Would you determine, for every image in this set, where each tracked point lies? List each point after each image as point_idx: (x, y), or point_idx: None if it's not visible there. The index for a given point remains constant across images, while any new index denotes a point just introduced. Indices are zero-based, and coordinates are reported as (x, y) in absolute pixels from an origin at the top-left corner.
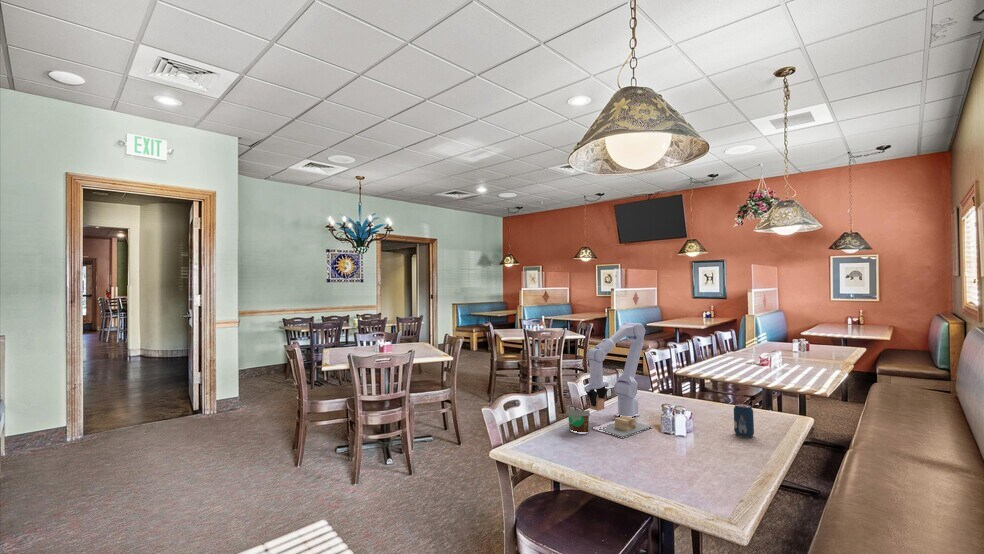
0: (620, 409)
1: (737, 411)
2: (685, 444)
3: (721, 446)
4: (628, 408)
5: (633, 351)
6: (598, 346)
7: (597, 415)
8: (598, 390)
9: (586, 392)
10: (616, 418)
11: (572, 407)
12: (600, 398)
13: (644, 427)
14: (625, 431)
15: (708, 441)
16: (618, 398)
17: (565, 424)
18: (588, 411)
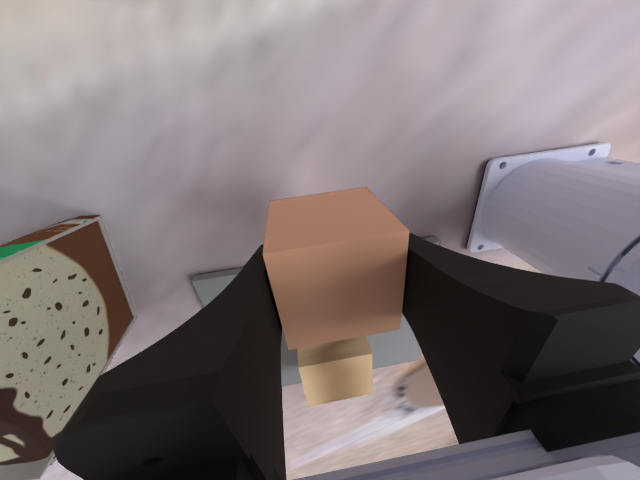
0: (517, 222)
1: None
2: (359, 438)
3: (404, 453)
4: (533, 266)
5: None
6: None
7: (426, 76)
8: (478, 347)
9: (118, 378)
10: (301, 372)
11: None
12: (385, 303)
13: (390, 359)
14: (296, 366)
15: (416, 436)
16: (618, 240)
17: (45, 115)
18: (40, 469)
